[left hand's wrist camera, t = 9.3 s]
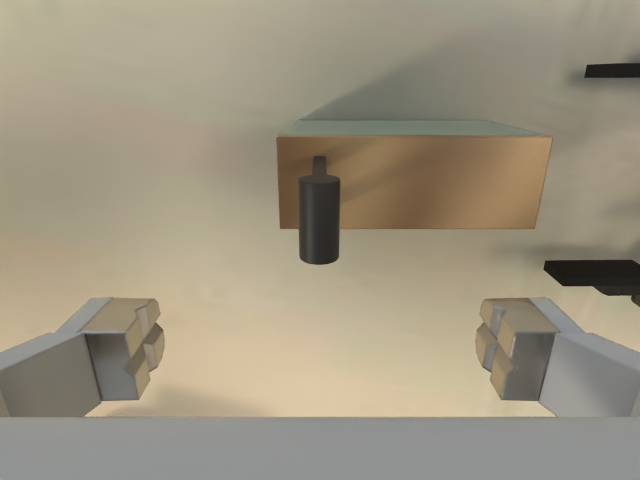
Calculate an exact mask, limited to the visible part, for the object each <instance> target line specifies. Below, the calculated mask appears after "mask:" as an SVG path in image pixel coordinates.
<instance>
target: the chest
mask: <svg viewBox="0 0 640 480" xmlns="http://www.w3.org/2000/svg"><path fill="white" fill-rule="evenodd" d="M290 135H543V134H539V133H535V132H531V131H527V130H523V129H519V128H515V127H511V126H507V125H504V124H500V123H496V122H492V121H487V120H298V121H297V123H296V125H295V127H294V129H293V131H292V132H291V134H290Z"/></svg>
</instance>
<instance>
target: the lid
mask: <svg viewBox="0 0 640 480" xmlns="http://www.w3.org/2000/svg"><path fill="white" fill-rule="evenodd" d="M276 139H277V165H278V191H279V216H280V229H299V251H300V259H301V260H302V261H304V262H306V263H309V264H316V265H323V264H329V263H332V262H335V261H336V260H337V259H338V258H339V229H535V224H536V219H537V214H538V210H539V205H540V200H541V195H542V190H543V185H544V180H545V175H546V170H547V165H548V161H549V156H550V151H551V146H552V141H553V137H550V136H547V135H278V136H277V138H276Z"/></svg>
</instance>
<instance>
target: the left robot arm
mask: <svg viewBox="0 0 640 480" xmlns="http://www.w3.org/2000/svg"><path fill="white" fill-rule="evenodd" d="M159 316H160V309H159V304H158V302H157V301H156V300H155V299H150V298H113V297H110V298H91V299H90V300H89V301H88V302H87V303H85V304H84V305H83V306H82V307H81V308H80V309H79V310H78V311H77V312H76V313H75V314H74V315H73V316H72V317H71V318H70V319H69V320H68V321H66V322H65V323H64V324H63V325H62V326H61V327H60V328H59V329H58V330H57V331H56V332H55V333H46V334H44V335H42V336H39V337H37V338H34V339H32V340H30V341H27V342H25V343H22V344H20V345H18V346H15V347H13V348H10V349H8V350H5V351H3V352H1V353H0V480H640V353H639V352H637V351H634V350H632V349H630V348H627V347H625V346H622V345H620V344H618V343H615V342H613V341H610V340H608V339H606V338H603V337H601V336H598V335H596V334H594V333H585V332H584V331H583V330H582V329H581V328H580V327H579V326H578V325H577V324H576V323H575V322H574V321H573V320H572V319H570V318H569V317H568V316H567V315H566V314H565V313H564V312H563V311H562V310H561V309H560V308H559V307H558V306H557V305H556V304H555V303H554V302H553V301H551V300H550V299H548V298H545V297H541V298H500V299H484V300H483V302H482V305H481V309H480V316H481V317H482V319H483V321H484V323H483V324H482V325H481V326H480V327H479V328H478V329H477V333H476V341H475V342H476V353H477V356H478V359H479V361H480V363H481V365H482V367H483V368H485V369H486V370H488V371H489V372H491V376H490V381H491V383H492V385H493V386H494V388H495V390H496V392H497V393H498V395H499V397H500V399H501V400H521V401H539V403H540V404H541V405H542V406H544V407H545V408H546V409H548V410H549V411H550V412H552V413H553V414H554V415H556V416H557V417H83V416H84V415H86V414H87V413H88V412H90V411H91V410H92V409H94V408H95V407H96V406H98V405H99V404H100V403H101V401H118V400H139V399H140V397H141V395H142V393H143V392H144V390H145V388H146V386H147V385H148V383H149V381H150V376H149V372H151V371H152V370H154V369H155V368H157V367H158V365H159V363H160V361H161V359H162V355H163V351H164V333H163V329H162V328H161V327H160V326H159V325H158V324H157V323H156V321H157V319H158V317H159Z"/></svg>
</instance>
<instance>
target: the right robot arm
mask: <svg viewBox="0 0 640 480" xmlns="http://www.w3.org/2000/svg"><path fill="white" fill-rule="evenodd" d="M631 77H640V63H625V64H596V65H587V67H586V72H585V77H584V78H631ZM544 270H545V271H546V272H547V273H548V274H549V275H551V276H552V277H553V278H554V279H555V280H556V281H558V282H559V283H560V284H561V285H562V286H593V287H594V288H596V289H597V290H598V291H600V292H601V293H603V294H605V295H608V296H615V295H617V296H621V295H632V297H631V300H632V302H634V303H635V304H636V305H638V306H639V307H640V264H638V263H636V262H635V261H633V260H548V261H545V265H544Z"/></svg>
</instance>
